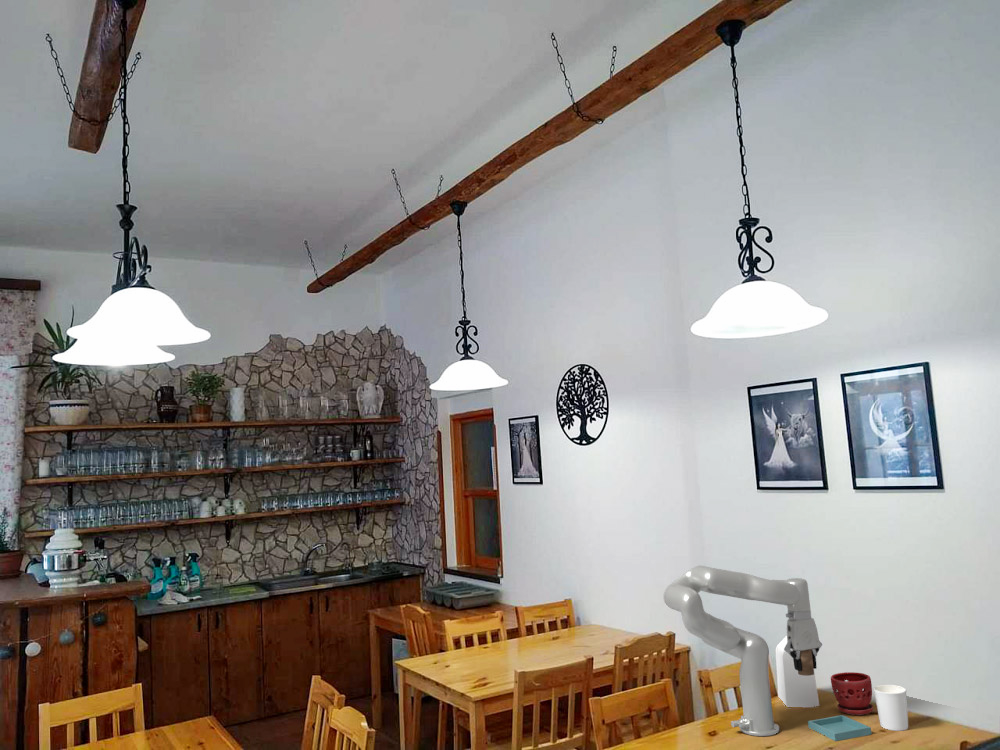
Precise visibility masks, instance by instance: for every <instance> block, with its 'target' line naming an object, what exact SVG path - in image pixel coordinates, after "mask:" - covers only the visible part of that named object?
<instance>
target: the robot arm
mask: <svg viewBox="0 0 1000 750" xmlns="http://www.w3.org/2000/svg"><path fill="white" fill-rule="evenodd" d="M700 592H703V593H708V594H713V595H718V596H725V597H731V598H737V599H741V600H749V601H757V602H765V603H769V604H770V603H771V604H776V605H780V606H781V605H782V606H787V613H785V618H788V619H787V621H786V635H787V644H786V646H785V648H784V650H785V651H786V652H787V653H788V654H789V655H790V656H791V657H792V658H793V660H794V667H795V670H798V671H802V664H801V659H799V657H800V651H804V650H809V649H811V650H812V658H813V667H814V670H815V669H816V670H817V656H818V653H819V651H820V649H821V648H822V646H823V643H822V642H821V641H820V638H819V633H818V628H817V625H816V621H815V619H814V618H813V617H812V611H811V603H810V593H809V585H808V582H807V580H806V579H804V578H798V577H792V578H788V579H769V578H768V579H767V578H765V577H763V578H762V577H760V576H759V577H758V576H756V575H752V574H748V573H744V572H738V571H732V570H726V569H723V568H722V569H721V568H717V567H716V568H715V567H710V566H705V565H696V566H694V567H692V568H690V569H689V570H688V571H686V572H685V573H683V574H682V575H681V576H678V578H677V579H676V580H674V581H672V582H671V583H670V584H669V585H667V586H666V588H665V589H664V592H663V601H664V603H665V604H666V606H668V607H669V608H670V609H672V610H674V611H677V612H679V613H680V614H681V617H682V618H681V619H682V622H683V625H684V627H685V628H686V630H687V631H688V632H689V633H690V634H692V635H693V636H695V637H697V638H699V639H701V641H702V642H703V643H705V644H706V645H708V646H710V647H712V648H714V649H716V650H718V651H721V652H723V653H726V654H728V655H729V656H733V657H734V658H737V659H740V660H741V663H740V667H739V683H740V693H741V704H742V712H743V713H742V715H741V716H740V718H739V719H738V720H731V721H730V724H731V727H732V728H736V727H738V728H739V730H740V732H742V733H744V734H746V735H750V736H754V737H769V736H774V735H776V733H777V734H778V733H779V732H780V726H779V725H778V724H777V723H775V721H774V713H773V704H772V694H771V684H770V676H769V659H770V658H769V657H770V648H769V645H768V643H767V641H766V640H765V639H764V638H763V637H762V636H760V635H759V634H757V633H753V632H750V631H747V630H744V629H741V628H739V627H736V626H735V625H733V624H732V623H730V622H728V621H727V620H724V619H721V618H718V617H716V616H713V615H712V614H710V613H707V612H706V610H705V609H704V605H703V600H702V597H701V595H700V594H699V593H700ZM790 649H792V651H791V650H790Z"/></svg>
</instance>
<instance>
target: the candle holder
mask: <svg viewBox="0 0 1000 750" xmlns="http://www.w3.org/2000/svg"><path fill="white" fill-rule="evenodd" d="M872 690H873V692H874V698H875V704H876V709H877V714H878V720H879V724H880V728H882V727H883V728H882V729H884V728H885V730H887V729H888V731H893V732H895V731H896V732H901V731H906V730H908V728H909V712H908V699H907V689H906V687H904V686H900V685H895V684H879V685H875V686H874V687H872Z"/></svg>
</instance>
